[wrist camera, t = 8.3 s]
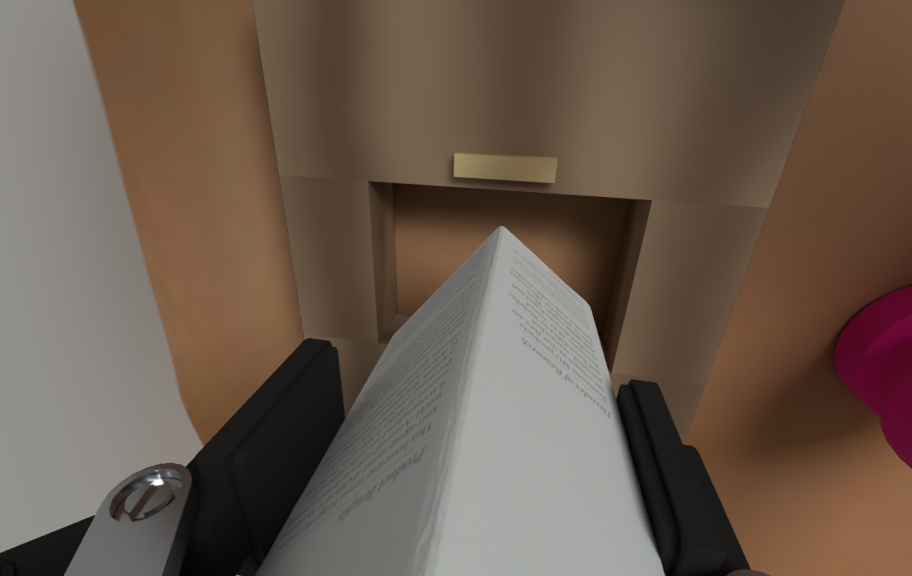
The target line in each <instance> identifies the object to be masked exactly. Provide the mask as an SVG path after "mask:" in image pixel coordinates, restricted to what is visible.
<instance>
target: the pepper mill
mask: <svg viewBox="0 0 912 576" xmlns="http://www.w3.org/2000/svg"><path fill="white" fill-rule="evenodd" d="M834 364H835V370H836V372H837V375H838V377H839V378H840V380H841V381H842V382H843V384H844V385H845V386H846V387H847V388H848V389H849V390H850V391H851V392H852V393H853V394H854V395H855V396H856V397H858V398H859V399H860V400H861V401H862V402H863V403H864V404H865V405H866V406H867V407H868V408H869V409H870V410H872V411H873V412H874V413H876V414H877V415H879V416H880V422H881V427H882V430H883V433H884V435H885V438H886V440H887V442H888V444H889V445H890V446H891V448H892V449H893V450H894V451H895V453H896V454H897V455H898V457H899V458H900V459H901V460H902V461H904V462H905V463H906V464H907V465H908V466H909V467H910V468H912V286H910V287H907V288H904V289H900V290H897V291H894V292H891V293H889V294H888V295H886V296H884V297H882V298H880V299H878V300H876V301H875V302H873V303H871V304H869V305H868V306H867V307H866V308H864V309H863V310H862V311H861V312H860V313H858V314H857V315H856V316H855V317H853V318H852V320H851V321H850V322H849V323H848V325H847V326H846V327H845V329H844V330H843V331H842V333H841V335H840V337H839V340H838V342H837V345H836V347H835V350H834Z"/></svg>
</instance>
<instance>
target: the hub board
mask: <svg viewBox="0 0 912 576" xmlns="http://www.w3.org/2000/svg"><path fill="white" fill-rule="evenodd" d="M252 3H253V10H254V16H255V23H256V29H257V36H258V42H259V49H260V55H261V62H262V68H263V74H264V81H265V87H266V94H267V100H268V107H269V113H270V120H271V126H272V133H273V139H274V146H275V152H276V158H277V165H278V171H279V178H280V184H281V191H282V197H283V204H284V210H285V217H286V223H287V230H288V236H289V242H290V249H291V255H292V262H293V268H294V275H295V281H296V288H297V294H298V301H299V307H300V314H301V320H302V326H303V333H304V339H307V338H314V339H322V340H329V341H330V342H331V344H332V346H333V347H336V348H337V350H338V357H339V365H340V374H341V383H342V392H343V401H344V410H345V419H346V417H347V415H348V413H349V411H350V410H351V408H352V406H353V404H354V402H355V401H356V399H357V397H358V395H359V394H360V392H361V390H362V389H363V387H364V385H365V383H366V382H367V380H368V378H369V376H370V374H371V373H372V371H373V369H374V368H375V366H376V364H377V363H378V361H379V359H380V357H381V356H382V354H383V352H384V351H385V349H386V347H387V345H388V344H389V342H390V340H391V338H392V336H393V335H394V334H395V333H396V332H397V331H398V330H399V329H400V328H401V327H402V326H403V325H404V324H405V323H406V322H407V321H408V319H409V318H410V317H411V316H412V314H404V313H398V310H397V284H396V258H395V231H394V205H393V183H404V184H419V185H434V186H449V187H464V188H479V189H494V190H509V191H524V192H539V193H554V194H569V195H583V196H598V197H613V198H628V199H631V203H630V208H629V213H628V217H627V222H626V227H625V231H624V236H623V241H622V245H621V250H620V255H619V259H618V264H617V269H616V273H615V278H614V283H613V287H612V292H611V297H610V301H609V306H608V311H607V315H606V320H605V325H604V330H603V334H602V336H599V340H600V343H601V347H602V350H603V354H604V358H605V362H606V365H607V368H608V372H609V376H610V380H611V383H612V387H613V390H614V394H615V397H616V398H617V394H618V390H619V387H620V385H621V384H625V385H628V382H629V381H630V380H631V379H634V380H642V381H650V382H656V383H657V384H658V385H659V387H660V390H661V392H662V395H663V397H664V399H665V402H666V404H667V407H668V409H669V412H670V414H671V416H672V419H673V421H674V424H675V426H676V429H677V431H678V433H679V436H680V438H681V441H682V443H683V444H684V441H685V439H686V436H687V433H688V430H689V427H690V425H691V422H692V419H693V416H694V414H695V411H696V408H697V405H698V403H699V400H700V397H701V394H702V392H703V389H704V386H705V383H706V381H707V378H708V375H709V372H710V370H711V367H712V364H713V361H714V359H715V356H716V353H717V350H718V348H719V345H720V342H721V339H722V336H723V334H724V331H725V328H726V325H727V323H728V320H729V317H730V314H731V312H732V309H733V306H734V303H735V301H736V298H737V295H738V292H739V290H740V287H741V284H742V281H743V279H744V276H745V273H746V270H747V268H748V265H749V262H750V259H751V256H752V254H753V251H754V248H755V245H756V243H757V240H758V237H759V234H760V232H761V229H762V226H763V223H764V221H765V218H766V215H767V212H768V210H769V207H770V204H771V201H772V199H773V196H774V193H775V190H776V188H777V185H778V182H779V179H780V177H781V174H782V171H783V168H784V165H785V163H786V160H787V157H788V154H789V152H790V149H791V146H792V143H793V141H794V138H795V135H796V132H797V130H798V127H799V124H800V121H801V119H802V116H803V113H804V110H805V108H806V105H807V102H808V99H809V97H810V94H811V91H812V88H813V85H814V83H815V80H816V77H817V74H818V72H819V69H820V66H821V63H822V61H823V58H824V55H825V52H826V50H827V47H828V44H829V41H830V39H831V36H832V33H833V30H834V28H835V25H836V22H837V19H838V17H839V14H840V11H841V8H842V6H843V3H844V0H252Z"/></svg>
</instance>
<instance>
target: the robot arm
mask: <svg viewBox="0 0 912 576" xmlns="http://www.w3.org/2000/svg"><path fill="white" fill-rule="evenodd" d="M616 401H617V405H618V408H619V412H620V416H621V420H622V423H623V427H624V430H625V434H626V437H627V441H628V444H629V448H630V452H631V456H632V459H633V463H634V467H635V470H636V474H637V477H638V481H639V484H640V488H641V492H642V496H643V499H644V503H645V506H646V510H647V513H648V516H649V520H650V524H651V527H652V531H653V534H654V538H655V541H656V545H657V548H658V552H659V556H660V560H661V563H662V567H663V571H664V574H665V576H770V575H767V574H765V573H762V572H760V571H754V570H751V569H750V567H749V564H748V562H747V560H746V558H745V555H744V553H743V551H742V549H741V546H740V544H739V542H738V540H737V537H736V535H735V533H734V531H733V528H732V526H731V524H730V522H729V519H728V517H727V515H726V513H725V510H724V508H723V506H722V504H721V502H720V499H719V497H718V495H717V493H716V490H715V488H714V486H713V484H712V481H711V479H710V477H709V475H708V472H707V470H706V468H705V466H704V463H703V461H702V459H701V457H700V455H699V453H698V451H697V450H696V449H695V448H694V447H693V446H689V445H683V443H682V441H681V438H680V436H679V433H678V431H677V429H676V426H675V424H674V421H673V419H672V416H671V414H670V412H669V409H668V407H667V404H666V402H665V399H664V397H663V395H662V392H661V390H660V387H659V385H658V384H657V383H656V382H650V381H642V380H634V379H631V380H630V381H629V382H628V385H625V384H621V385H620V387H619V390H618V394H617V398H616ZM344 420H345V410H344V401H343V392H342V383H341V374H340V365H339V357H338V350H337V348H336V347H333V346H332V344H331V342H330V341H329V340H322V339H314V338H307V339H305V340H304V341H303V342H302V343H301V344H300V345H299V346H298V348H297V349H296V350H295V351H294V352H293V353H292V354H291V355H290V356H289V357H288V358H287V359H286V360H285V361H284V362H283V363H282V365H281V366H280V367H279V368H278V369H277V370H276V371H275V372H274V373H273V374H272V375H271V376H270V377H269V378H268V379H267V380H266V381H265V383H264V384H263V385H262V386H261V387H260V388H259V389H258V390H257V391H256V392H255V393H254V394H253V395H252V396H251V397H250V398H249V400H248V401H247V402H246V403H245V404H244V405H243V406H242V407H241V408H240V409H239V410H238V411H237V412H236V413H235V414H234V415H233V416H232V418H231V419H230V420H229V421H228V422H227V423H226V424H225V425H224V426H223V427H222V428H221V429H220V430H219V431H218V432H217V433H216V435H215V436H214V437H213V438H212V439H211V440H210V441H209V442H208V443H207V444H206V445H205V446H204V447H203V448H202V449H201V451H200V452H199V453H198V454H197V455H196V456H195V457H194V459H193V460H192V461H191V462H190V463H189V464H188V465H187V466H186V467H184V466H183V465H180V464H175V463H166V464H158V465H155V466H151V467H147V468H145V469H143V470H141V471H139V472H136V473H134V474H132V475H131V476H129V477H128V478H126V479H125V480H123V481H122V482H120V483H119V484H118V485H117V486H116V487H115V488H114V489H113V490H111V491H110V492H109V494H108V495H107V496H106V498H105V499H104V501H103V502H102V504H101V506H100V508H99V509H98V511H97V513H96V515H94V516H91V517H89V518H86V519H84V520H81V521H79V522H76V523H74V524H71V525H69V526H67V527H64V528H61V529H59V530H56V531H54V532H51V533H49V534H46V535H44V536H41V537H39V538H37V539H34V540H32V541H29V542H27V543H24V544H21V545H19V546H17V547H14V548H11V549H9V550H6V551H4V552H1V553H0V576H236V575H240V576H255V575H256V573H257V571H258V570H259V568H260V566H261V565H262V563H263V561H264V560H265V558H266V556H267V554H268V552H269V551H270V549H271V547H272V545H273V544H274V542H275V540H276V538H277V536H278V535H279V533H280V531H281V529H282V528H283V526H284V524H285V523H286V521H287V519H288V517H289V516H290V514H291V512H292V510H293V508H294V507H295V505H296V503H297V502H298V500H299V498H300V497H301V495H302V493H303V492H304V490H305V488H306V486H307V485H308V483H309V481H310V479H311V478H312V476H313V474H314V472H315V471H316V469H317V467H318V465H319V464H320V462H321V460H322V459H323V457H324V455H325V453H326V452H327V450H328V448H329V447H330V445H331V443H332V441H333V440H334V438H335V436H336V434H337V432H338V431H339V429H340V427H341V425H342V424H343V422H344Z"/></svg>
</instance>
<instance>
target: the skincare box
mask: <svg viewBox="0 0 912 576" xmlns="http://www.w3.org/2000/svg"><path fill="white" fill-rule="evenodd" d="M255 576H665V574H664V571H663V567H662V563H661V560H660V556H659V552H658V548H657V545H656V541H655V538H654V534H653V531H652V527H651V524H650V520H649V516H648V513H647V510H646V506H645V503H644V499H643V496H642V492H641V488H640V484H639V481H638V477H637V474H636V470H635V467H634V463H633V459H632V456H631V452H630V448H629V444H628V441H627V437H626V434H625V430H624V427H623V423H622V420H621V416H620V412H619V408H618V405H617V401H616V397H615V394H614V390H613V387H612V383H611V380H610V376H609V372H608V368H607V365H606V362H605V358H604V354H603V350H602V347H601V343H600V340H599V336H598V333H597V329H596V325H595V322H594V318H593V314H592V311H591V308H590V306H589V305H588V303H587V302H586V301H585V300H584V299H583V298H582V297H581V296H579V295H578V294H577V293H576V292H575V291H574V290H572V289H571V288H570V287H569V286H568V285H567V284H565V283H564V282H563V281H562V280H561V279H560V278H559V277H558V276H557V275H556V274H555V273H554V272H553V271H552V270H551V269H550V268H548V267H547V266H546V265H545V264H544V263H543V262H542V261H541V260H540V259H539V258H538V257H537V256H536V255H535V254H533V253H532V252H531V251H530V250H529V249H528V248H527V247H526V246H525V245H524V244H523V243H522V242H521V241H519V240H518V239H517V238H516V237H515V236H514V235H513V234H512V233H511V232H510V231H508V230H507V229H506V228H505V227H503V226H499V227H498V228H497V229H496V230H495V231H494V232H493V233H492V234H491V235H490V236H489V237H488V238H487V239H486V240H485V241H484V242H483V243H482V244H481V245H480V246H479V247H478V248H477V249H476V250H475V251H474V252H473V253H472V254H471V255H470V256H469V257H468V258H467V259H466V261H465V262H464V263H463V264H462V265H461V266H460V267H459V268H458V269H457V270H456V271H455V272H454V273H453V274H452V275H451V276H450V277H449V278H448V279H447V280H446V281H445V282H444V283H443V284H442V285H441V286H440V287H439V288H438V289H437V290H436V291H435V292H434V294H433V295H432V296H431V297H430V298H429V299H428V300H427V301H426V302H425V303H424V304H423V305H422V306H421V307H420V308H419V309H418V310H417V311H416V312H415V313H414V314H413V315H412V316H411V317H410V318H409V319H408V321H407V322H406V323H405V324H404V325H403V326H402V327H401V328H400V329H399V330H398V331H397V332H396V333H395V334H394V335H393V336H392V338H391V340H390V342H389V344H388V345H387V347H386V349H385V351H384V352H383V354H382V356H381V357H380V359H379V361H378V363H377V364H376V366H375V368H374V369H373V371H372V373H371V374H370V376H369V378H368V380H367V382H366V383H365V385H364V387H363V389H362V390H361V392H360V394H359V395H358V397H357V399H356V401H355V402H354V404H353V406H352V408H351V410H350V411H349V413H348V415H347V417H346V419H345V420H344V422H343V424H342V425H341V427H340V429H339V431H338V432H337V434H336V436H335V438H334V440H333V441H332V443H331V445H330V447H329V448H328V450H327V452H326V453H325V455H324V457H323V459H322V460H321V462H320V464H319V465H318V467H317V469H316V471H315V472H314V474H313V476H312V478H311V479H310V481H309V483H308V485H307V486H306V488H305V490H304V492H303V493H302V495H301V497H300V498H299V500H298V502H297V503H296V505H295V507H294V508H293V510H292V512H291V514H290V516H289V517H288V519H287V521H286V523H285V524H284V526H283V528H282V529H281V531H280V533H279V535H278V536H277V538H276V540H275V542H274V544H273V545H272V547H271V549H270V551H269V552H268V554H267V556H266V558H265V560H264V561H263V563H262V565H261V566H260V568H259V570H258V571H257V573H256V575H255Z"/></svg>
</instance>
